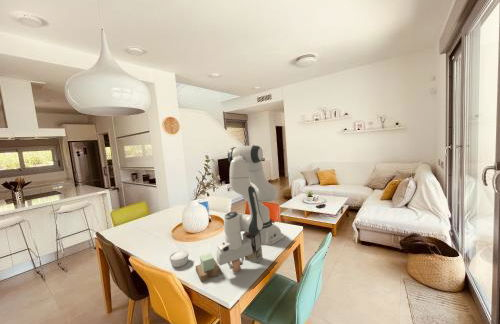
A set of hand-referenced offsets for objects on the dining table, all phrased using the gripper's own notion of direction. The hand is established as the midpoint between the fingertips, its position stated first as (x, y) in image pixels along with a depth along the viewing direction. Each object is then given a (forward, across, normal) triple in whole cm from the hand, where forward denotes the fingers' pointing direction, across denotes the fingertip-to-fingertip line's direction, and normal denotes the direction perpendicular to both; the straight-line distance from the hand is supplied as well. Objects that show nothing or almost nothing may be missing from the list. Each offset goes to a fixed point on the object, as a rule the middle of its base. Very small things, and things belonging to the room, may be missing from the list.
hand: (236, 266), depth 115 cm
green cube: (-1, +14, -7) cm, 16 cm away
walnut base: (+2, +14, -7) cm, 16 cm away
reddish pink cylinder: (+2, 0, 0) cm, 2 cm away
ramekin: (+2, +26, -27) cm, 38 cm away
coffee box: (+2, -13, -4) cm, 14 cm away
